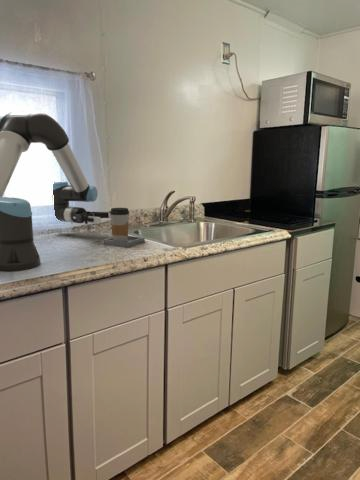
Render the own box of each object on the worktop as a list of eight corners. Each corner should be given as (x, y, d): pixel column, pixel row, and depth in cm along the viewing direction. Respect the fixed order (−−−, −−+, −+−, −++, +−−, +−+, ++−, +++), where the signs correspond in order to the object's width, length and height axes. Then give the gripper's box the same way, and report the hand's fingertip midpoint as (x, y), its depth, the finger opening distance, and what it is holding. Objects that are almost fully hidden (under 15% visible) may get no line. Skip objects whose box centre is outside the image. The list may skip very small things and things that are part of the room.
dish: (127, 247, 158) (127, 242, 158) (103, 244, 164) (103, 239, 164) (144, 242, 169) (144, 237, 169) (121, 239, 175) (121, 234, 175)
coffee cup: (125, 244, 160) (125, 210, 157) (107, 243, 162) (106, 209, 159) (132, 241, 168) (131, 207, 165) (115, 240, 170) (114, 207, 167)
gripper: (94, 219, 190) (127, 222, 179) (56, 226, 169) (91, 230, 158) (93, 204, 188) (127, 207, 178) (55, 209, 167) (90, 213, 157)
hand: (110, 218), depth 168 cm, fingers open, 13 cm apart
